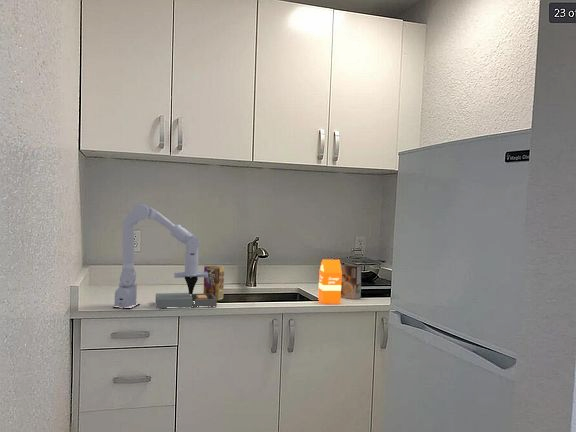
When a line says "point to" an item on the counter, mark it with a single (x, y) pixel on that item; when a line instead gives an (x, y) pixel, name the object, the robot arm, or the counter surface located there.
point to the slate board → (173, 300)
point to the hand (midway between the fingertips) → (190, 293)
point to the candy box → (214, 281)
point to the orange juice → (330, 281)
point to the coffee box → (351, 281)
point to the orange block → (201, 297)
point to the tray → (204, 300)
